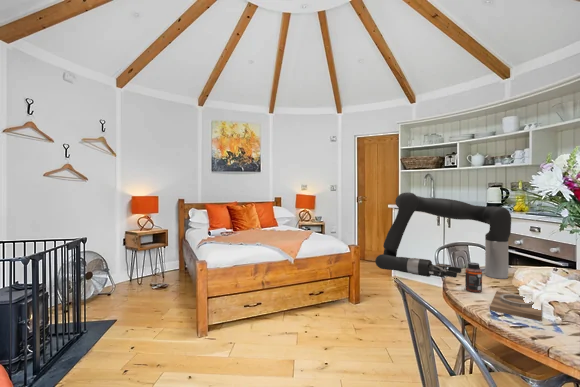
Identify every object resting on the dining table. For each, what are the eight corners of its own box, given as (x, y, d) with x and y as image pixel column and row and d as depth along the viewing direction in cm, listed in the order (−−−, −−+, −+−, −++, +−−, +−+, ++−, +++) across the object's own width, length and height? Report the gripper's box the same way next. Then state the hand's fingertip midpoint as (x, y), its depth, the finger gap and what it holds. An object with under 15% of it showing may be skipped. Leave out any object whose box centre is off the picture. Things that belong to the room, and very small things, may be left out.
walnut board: (496, 294, 124) (496, 287, 124) (541, 302, 115) (541, 295, 115) (489, 310, 108) (490, 302, 108) (541, 320, 100) (541, 312, 100)
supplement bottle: (484, 293, 126) (484, 265, 125) (468, 292, 127) (468, 264, 126) (478, 288, 131) (478, 262, 131) (463, 287, 133) (463, 261, 132)
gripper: (414, 261, 137) (455, 267, 127) (424, 256, 148) (462, 260, 138) (414, 278, 137) (455, 285, 127) (424, 271, 148) (462, 277, 138)
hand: (459, 272), depth 132 cm, fingers open, 8 cm apart
